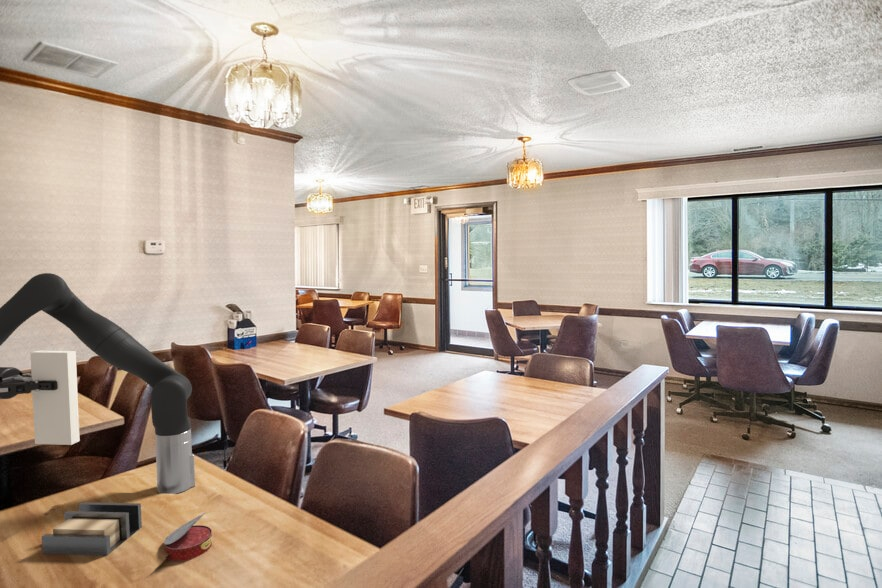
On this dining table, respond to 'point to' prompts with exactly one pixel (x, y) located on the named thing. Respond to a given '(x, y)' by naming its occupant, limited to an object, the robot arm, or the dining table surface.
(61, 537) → the rack
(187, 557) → the canned food
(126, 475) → the dining table surface
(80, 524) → the offcut top
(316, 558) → the dining table surface
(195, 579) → the dining table surface
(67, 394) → the white rectangular board
